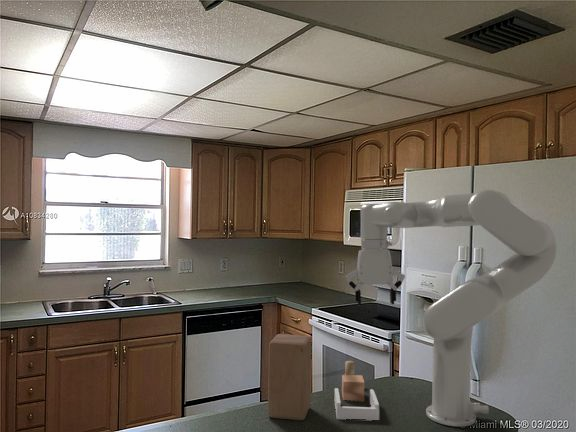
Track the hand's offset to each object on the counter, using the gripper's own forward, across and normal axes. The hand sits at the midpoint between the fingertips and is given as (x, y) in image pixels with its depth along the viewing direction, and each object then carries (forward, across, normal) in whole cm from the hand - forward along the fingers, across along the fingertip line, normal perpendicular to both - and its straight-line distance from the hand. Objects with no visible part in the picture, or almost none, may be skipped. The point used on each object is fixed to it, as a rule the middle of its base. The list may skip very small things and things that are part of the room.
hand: (375, 303), depth 139 cm
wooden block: (+27, +25, +13) cm, 39 cm away
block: (+27, +8, -5) cm, 29 cm away
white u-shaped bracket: (+28, +7, +10) cm, 30 cm away
